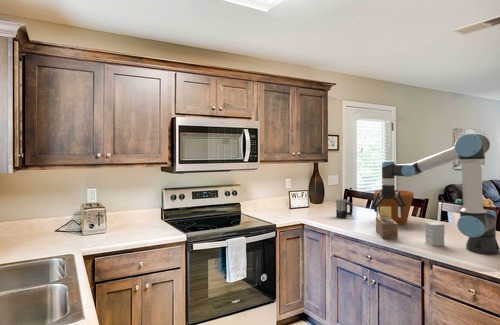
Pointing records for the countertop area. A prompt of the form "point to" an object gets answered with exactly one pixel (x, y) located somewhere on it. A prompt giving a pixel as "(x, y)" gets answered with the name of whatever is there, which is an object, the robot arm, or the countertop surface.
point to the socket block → (386, 229)
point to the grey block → (388, 220)
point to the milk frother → (343, 208)
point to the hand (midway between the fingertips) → (388, 217)
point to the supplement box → (434, 233)
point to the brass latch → (385, 212)
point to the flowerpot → (407, 200)
